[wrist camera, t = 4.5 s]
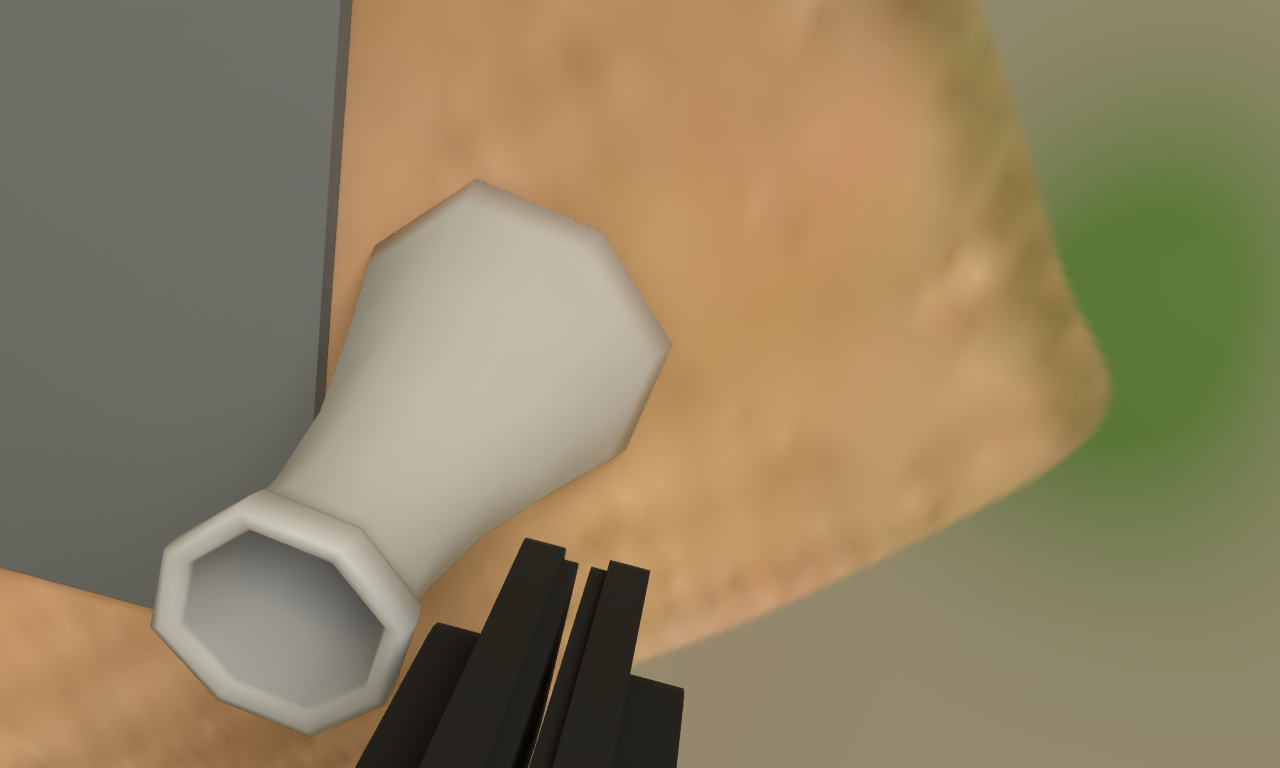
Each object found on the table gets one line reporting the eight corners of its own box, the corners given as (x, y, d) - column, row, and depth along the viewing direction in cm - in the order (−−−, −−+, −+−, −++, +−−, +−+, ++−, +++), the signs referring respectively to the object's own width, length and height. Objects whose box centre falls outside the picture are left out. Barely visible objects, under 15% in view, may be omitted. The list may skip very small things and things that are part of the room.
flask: (537, 537, 21) (365, 922, 12) (301, 354, 20) (-90, 625, 11) (731, 337, 18) (702, 638, 9) (470, 113, 17) (141, 200, 8)
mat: (-162, 509, 24) (-180, 519, 23) (-347, -374, 16) (-382, -387, 15) (308, 636, 23) (299, 648, 23) (366, -208, 15) (353, -216, 15)
